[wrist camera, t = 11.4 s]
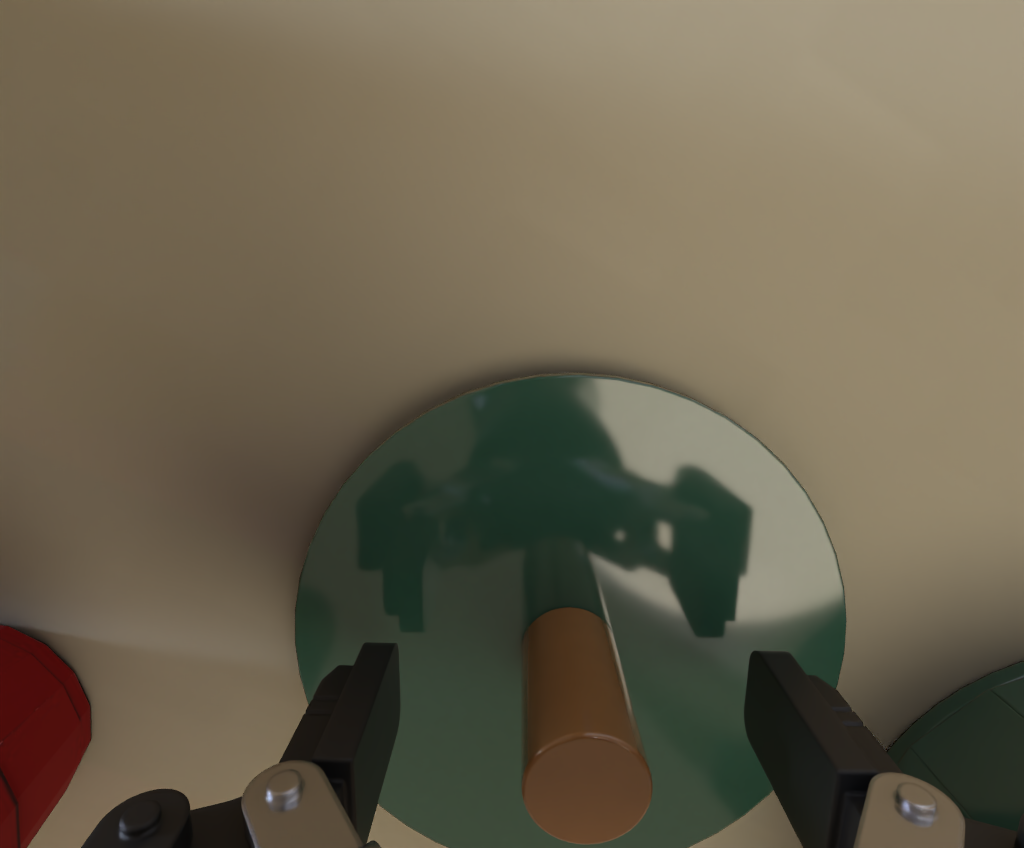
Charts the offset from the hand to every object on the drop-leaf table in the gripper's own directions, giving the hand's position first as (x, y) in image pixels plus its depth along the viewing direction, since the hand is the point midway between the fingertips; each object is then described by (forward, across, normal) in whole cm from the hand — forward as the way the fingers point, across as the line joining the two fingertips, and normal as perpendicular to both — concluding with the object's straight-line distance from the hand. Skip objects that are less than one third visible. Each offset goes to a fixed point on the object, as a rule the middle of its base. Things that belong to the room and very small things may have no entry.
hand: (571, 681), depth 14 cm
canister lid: (+2, 0, 0) cm, 2 cm away
